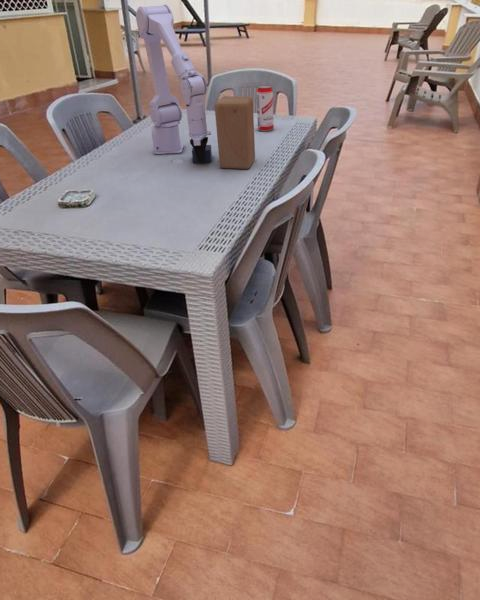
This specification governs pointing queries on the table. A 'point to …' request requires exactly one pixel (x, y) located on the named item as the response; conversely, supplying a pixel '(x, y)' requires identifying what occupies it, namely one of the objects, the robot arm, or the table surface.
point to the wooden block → (235, 132)
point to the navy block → (207, 155)
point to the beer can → (265, 108)
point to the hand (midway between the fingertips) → (201, 161)
